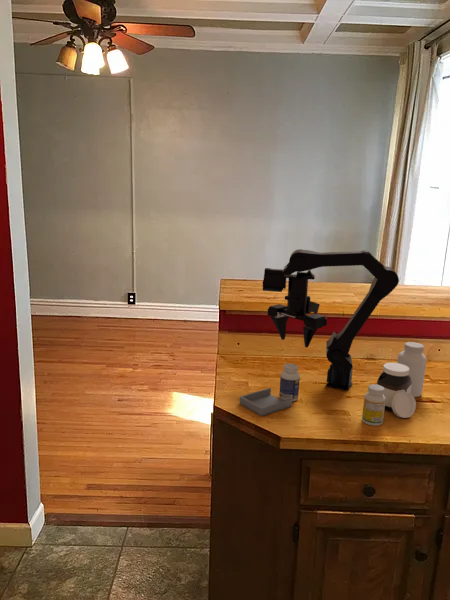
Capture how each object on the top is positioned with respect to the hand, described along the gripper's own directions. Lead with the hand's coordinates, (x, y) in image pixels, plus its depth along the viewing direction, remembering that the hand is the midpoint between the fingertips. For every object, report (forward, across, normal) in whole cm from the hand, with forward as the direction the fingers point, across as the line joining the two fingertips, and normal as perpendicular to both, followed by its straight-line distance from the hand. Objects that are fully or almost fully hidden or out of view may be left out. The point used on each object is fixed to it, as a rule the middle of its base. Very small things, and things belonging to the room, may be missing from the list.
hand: (294, 343), depth 162 cm
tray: (+12, -7, +20) cm, 24 cm away
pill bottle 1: (+12, -8, +11) cm, 18 cm away
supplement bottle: (+13, -31, +4) cm, 34 cm away
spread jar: (+13, -31, -7) cm, 34 cm away
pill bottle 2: (+13, -27, -21) cm, 36 cm away
